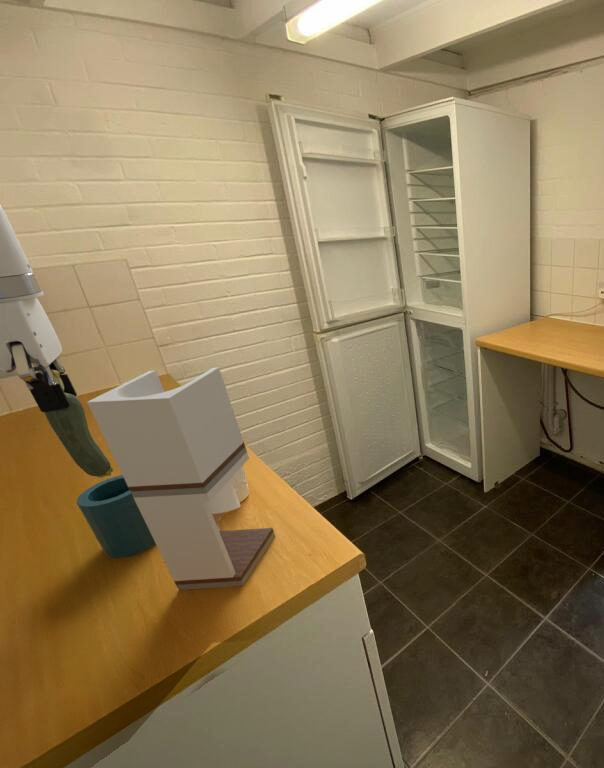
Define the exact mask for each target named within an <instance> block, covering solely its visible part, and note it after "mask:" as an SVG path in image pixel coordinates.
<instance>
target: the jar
mask: <svg viewBox="0 0 604 768" xmlns="http://www.w3.org/2000/svg"><path fill="white" fill-rule="evenodd" d="M76 505H77V506H78V508H79V510H80V511H81V513H82V515H83V517H84V518H85V521H86V523H87V524H88V526H89V528H90V530H91V531H92V533H93V535H94V537H95V538H96V540H97V542H98V544H99V545H100V547H101V549H102V551H103V552H104V553H105V555H106V556H107V557H108V558H111V559H123V558H129V557H132V556H135V555H138V554H141V553H142V552H144V551H147V550H148V549H150V548H152V547H153V546H155V545H156V543H155V541H154V539H153V537H152V535H151V533H150V531H149V529H148V526H147V524H146V522H145V520H144V518H143V516H142V514H141V512H140V510H139V508H138V506H137V504H136V502H135V500H134V498H133V496H132V494H131V492H130V490H129V488H128V485H127V483H126V481H125V479H124V477H123V475H122V474H119V475H116V476H113V477H109V478H106V479H105V480H102V481H100V482H97V483H95V484H94V485H92V486H90V487H88V488H87V489H85V490H84V491H83V492H82V493H81V494H79V496H78V497H77V499H76Z"/></svg>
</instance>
